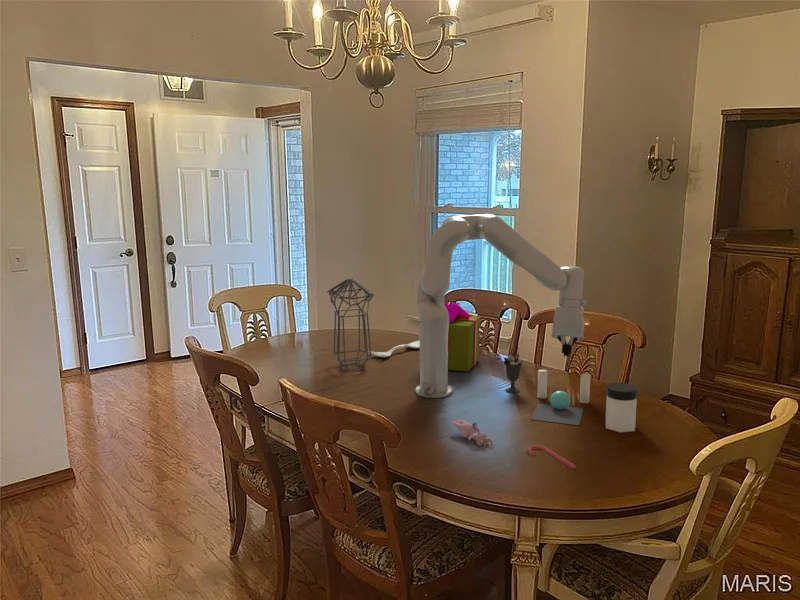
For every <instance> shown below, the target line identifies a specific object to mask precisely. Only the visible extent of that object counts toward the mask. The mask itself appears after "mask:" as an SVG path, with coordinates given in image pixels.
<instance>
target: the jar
mask: <svg viewBox="0 0 800 600" xmlns="http://www.w3.org/2000/svg"><path fill="white" fill-rule="evenodd" d="M637 398H638V388H637V387H636V386H635V385H632V384H629V383H626V382H625V383H624V382H623V383H622V382H611V383H609V384H607V387H606V401H605V405H606V406H605V423H604V424H605V428H606V429H607V430H610V431H613V432H617V433H621V434H622V433H629V432H636V421H637V420H636V416H637V404H638V403H637V402H638V400H637Z"/></svg>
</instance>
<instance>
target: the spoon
mask: <svg viewBox="0 0 800 600" xmlns="http://www.w3.org/2000/svg"><path fill="white" fill-rule="evenodd" d="M403 348H411V349H415V350H416V349H417V350H420V345H419V340H416V341H412V342H409V343H408V344H399V345H397V346H396V345H395V346H394V347H392V348H391V349H389V350H387V351H385V352H384V351H383V352H382V351H372V350H371V356H372V355H373V356H374V357H375V356H376V357H378V358H389V357H390V356H391V355H392V353H393V352H394V351H395V350H397V349H403ZM368 354H370V350H368Z"/></svg>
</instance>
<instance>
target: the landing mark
mask: <svg viewBox="0 0 800 600" xmlns="http://www.w3.org/2000/svg"><path fill="white" fill-rule="evenodd" d="M583 413H584V408H582V407H581V408H580V407H573V406H568V407H567V408H566V409H564V410H557V409H555V408H554V407H553V406H552V405H551V404H547V403H546V404H545V403H537V405H536V407H535V409H534V412H533V414H532V415H531V417H530V421H538V422H546V423H553V424H554V423H555V424H561V425H562V424H563V425H571V426H580V424H581V422H582V421H581V420H582V416H583Z"/></svg>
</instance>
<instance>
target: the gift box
mask: <svg viewBox="0 0 800 600" xmlns="http://www.w3.org/2000/svg"><path fill="white" fill-rule="evenodd" d="M444 306H445V307H446V309H447V311H448V314H449V328H448V371H457V372H458V371H459V372H470V370H471V369H472V368H474V367H475V366H477V365H476V364H477V363H478V361H479V360H480V328H481V316H476V315H472V314H469V313H468V311H466V310H465V309H464V308H463V307H462V306H461V305H460V303H459V302H456V303H452V301H449V303H445V302H444Z"/></svg>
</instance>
